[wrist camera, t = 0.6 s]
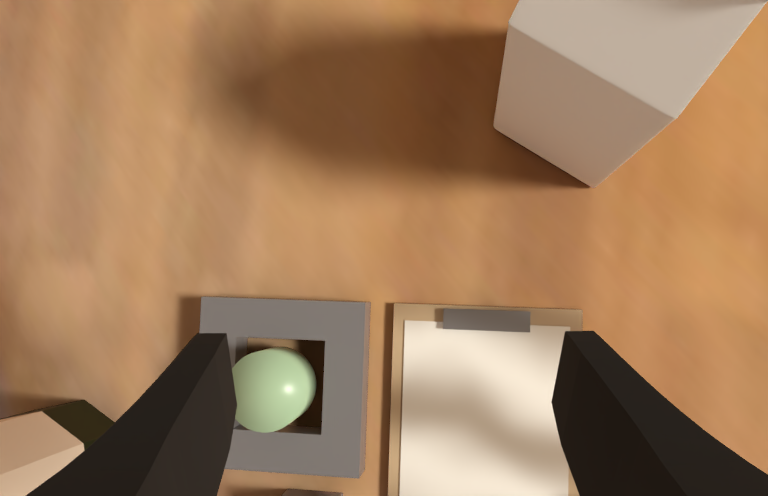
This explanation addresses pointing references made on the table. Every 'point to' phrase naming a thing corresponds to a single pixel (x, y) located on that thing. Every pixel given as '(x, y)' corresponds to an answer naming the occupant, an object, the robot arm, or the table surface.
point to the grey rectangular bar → (309, 493)
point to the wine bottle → (45, 443)
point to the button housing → (340, 386)
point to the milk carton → (608, 74)
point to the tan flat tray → (477, 401)
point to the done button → (272, 388)
